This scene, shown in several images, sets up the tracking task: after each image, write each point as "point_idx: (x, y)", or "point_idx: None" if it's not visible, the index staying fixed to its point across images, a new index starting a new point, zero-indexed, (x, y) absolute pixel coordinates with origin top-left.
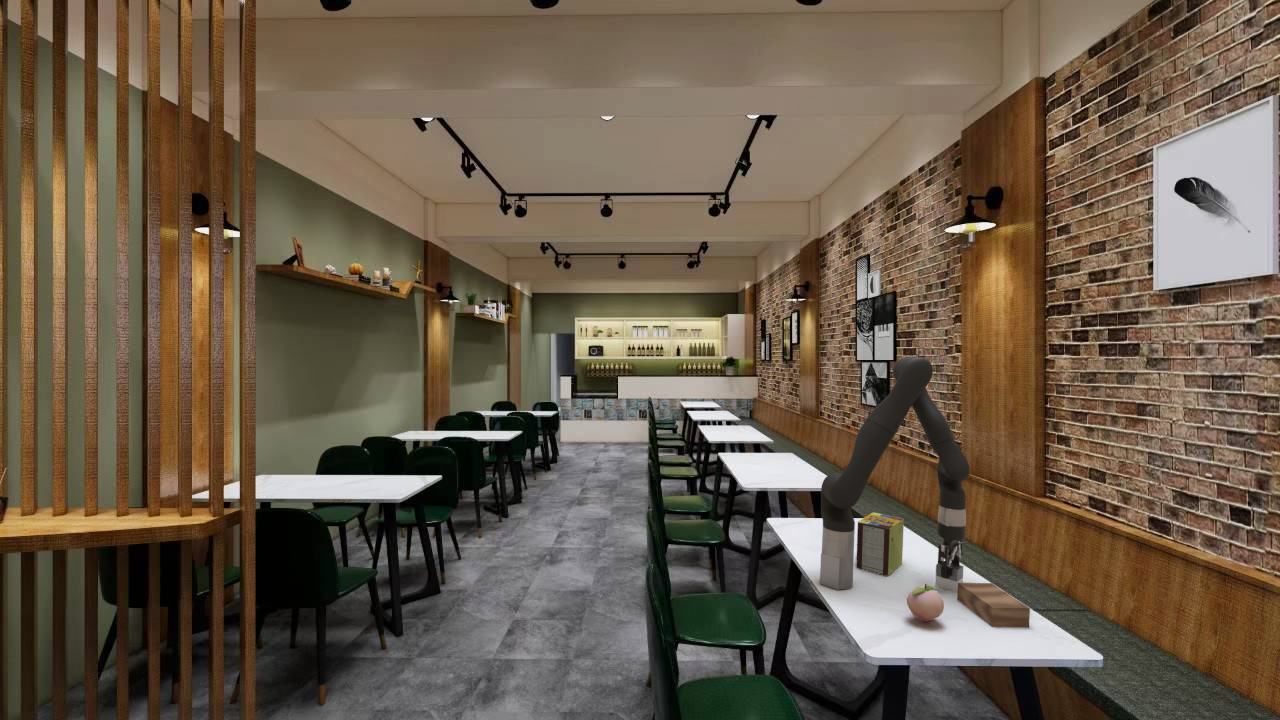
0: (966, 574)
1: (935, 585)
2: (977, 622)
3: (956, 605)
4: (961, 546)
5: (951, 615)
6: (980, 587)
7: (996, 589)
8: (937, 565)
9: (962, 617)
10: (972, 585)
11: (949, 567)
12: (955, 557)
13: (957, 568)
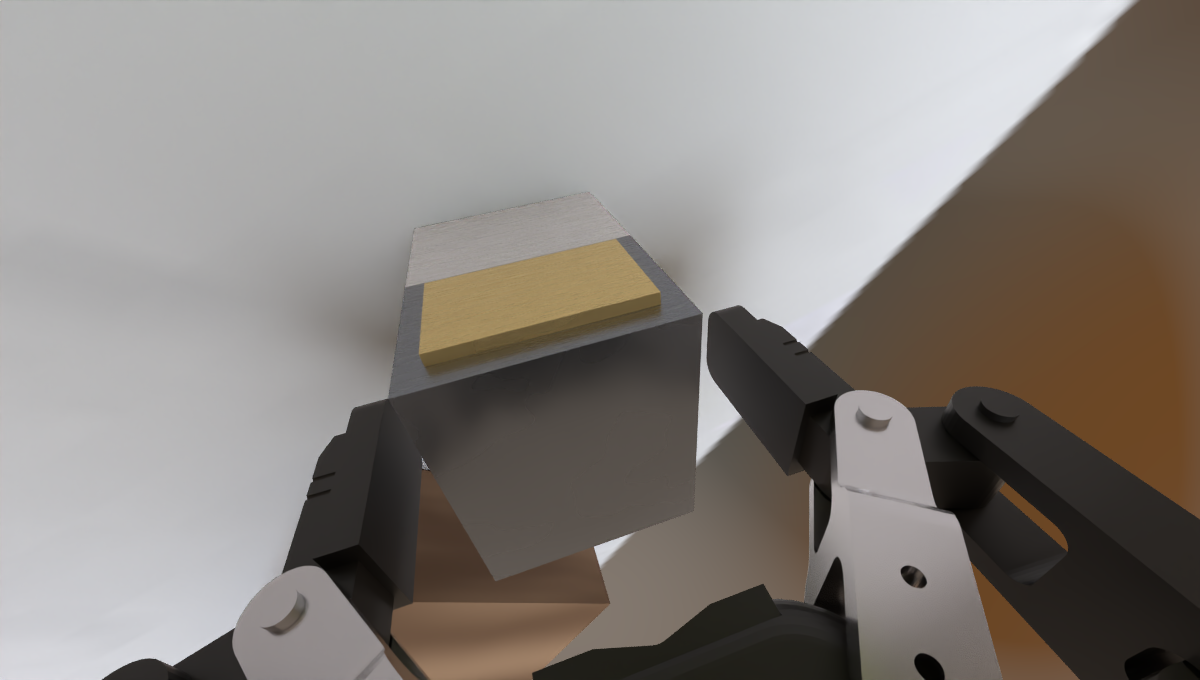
0: (933, 195)
1: (413, 234)
2: (186, 652)
3: (252, 512)
4: (1052, 645)
5: (33, 605)
6: (446, 650)
7: (524, 660)
8: (399, 401)
9: (121, 620)
10: (416, 634)
11: (394, 602)
12: (821, 457)
13: (550, 550)
